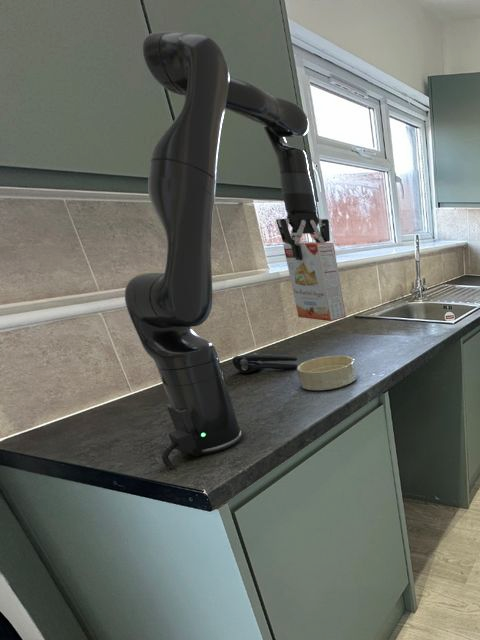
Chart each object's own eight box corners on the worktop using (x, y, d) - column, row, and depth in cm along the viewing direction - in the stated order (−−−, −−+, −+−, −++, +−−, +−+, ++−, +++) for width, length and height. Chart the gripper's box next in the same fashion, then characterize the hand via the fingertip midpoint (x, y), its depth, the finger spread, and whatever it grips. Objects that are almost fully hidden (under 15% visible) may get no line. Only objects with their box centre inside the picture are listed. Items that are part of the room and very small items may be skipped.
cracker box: (297, 318, 122) (281, 243, 115) (314, 314, 127) (300, 242, 120) (329, 321, 116) (315, 242, 108) (346, 317, 121) (334, 241, 113)
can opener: (231, 376, 121) (225, 358, 119) (241, 368, 127) (236, 351, 125) (295, 372, 123) (291, 354, 121) (302, 364, 129) (298, 347, 127)
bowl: (322, 396, 105) (318, 375, 103) (290, 386, 112) (286, 367, 110) (367, 378, 116) (364, 360, 114) (336, 370, 123) (332, 352, 121)
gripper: (279, 190, 102) (293, 261, 108) (331, 193, 113) (341, 257, 119) (263, 192, 106) (277, 260, 112) (314, 195, 117) (325, 257, 123)
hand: (310, 258), depth 115 cm, fingers closed on cracker box, 6 cm apart
